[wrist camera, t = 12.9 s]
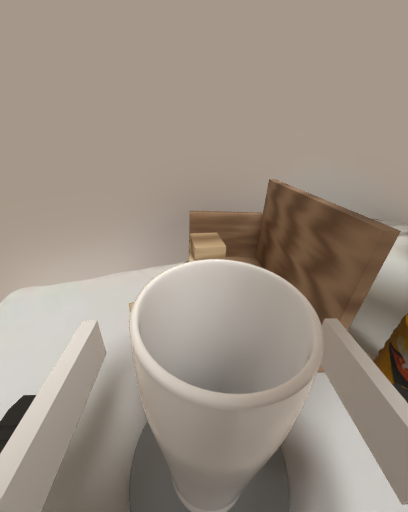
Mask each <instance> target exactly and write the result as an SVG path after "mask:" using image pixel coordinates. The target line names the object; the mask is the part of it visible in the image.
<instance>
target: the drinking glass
mask: <svg viewBox="0 0 408 512" xmlns="http://www.w3.org/2000/svg"><path fill="white" fill-rule="evenodd" d="M129 332H130V339H131V346H132V354H133V362H134V368H135V374H136V379H137V384H138V388H139V393H140V397H141V401H142V405H143V408H144V411H145V414H146V417H147V420H148V423H149V426H150V428H151V431H152V433H153V435H154V438H155V440H156V442H157V444H158V447H159V449H160V451H161V453H162V456H163V458H164V460H165V462H166V465H167V467H168V469H169V472H170V475H171V480H172V483H173V486H174V489H175V491H176V494H177V496H178V497H179V499H180V501H181V502H182V503H183V505H184V506H185V507H186V508H187V509H188V510H190V511H191V512H227V511H228V510H229V509H231V508H232V506H233V505H234V504H235V503H236V502H237V500H238V498H239V497H240V495H241V492H242V491H243V490H244V488H245V487H246V486H247V485H248V484H249V483H250V481H251V480H252V479H253V478H254V477H255V476H256V475H257V473H258V472H259V471H260V470H261V469H262V468H263V467H264V466H265V465H266V463H267V462H268V461H269V460H270V459H271V458H272V456H273V455H274V454H275V453H276V451H277V450H278V448H279V447H280V446H281V444H282V443H283V442H284V440H285V439H286V437H287V435H288V434H289V432H290V430H291V428H292V427H293V425H294V423H295V421H296V419H297V417H298V415H299V414H300V412H301V409H302V407H303V405H304V403H305V401H306V398H307V396H308V394H309V391H310V388H311V386H312V383H313V381H314V378H315V375H316V373H317V371H318V369H319V366H320V364H321V361H322V357H323V353H324V333H323V329H322V325H321V322H320V320H319V317H318V315H317V313H316V311H315V310H314V308H313V306H312V305H311V304H310V302H309V301H308V300H307V298H306V297H305V296H304V295H303V294H302V293H301V292H300V291H299V290H298V289H297V288H296V287H294V286H293V285H292V284H291V283H289V282H288V281H286V280H285V279H283V278H282V277H280V276H278V275H276V274H275V273H273V272H270V271H268V270H266V269H264V268H261V267H258V266H255V265H252V264H248V263H244V262H239V261H233V260H224V259H207V260H197V261H192V262H187V263H184V264H180V265H177V266H175V267H172V268H170V269H168V270H166V271H164V272H162V273H161V274H159V275H157V276H156V277H155V278H153V279H152V280H151V281H150V282H149V283H148V284H147V285H146V286H145V287H144V288H143V289H142V290H141V292H140V293H139V295H138V296H137V298H136V300H135V302H134V304H133V307H132V310H131V314H130V319H129Z"/></svg>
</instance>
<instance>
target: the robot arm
mask: <svg viewBox="0 0 408 512" xmlns="http://www.w3.org/2000/svg"><path fill="white" fill-rule="evenodd" d="M322 329H323V333H324V353H323V357H322V361H321V364H320V365H321V367H322V369H323V370H324V372H325V374H326V375H327V377H328V379H329V381H330V382H331V384H332V386H333V387H334V389H335V391H336V393H337V394H338V396H339V398H340V399H341V401H342V403H343V405H344V406H345V408H346V410H347V411H348V413H349V415H350V417H351V418H352V420H353V422H354V423H355V425H356V427H357V428H358V430H359V432H360V434H361V435H362V437H363V439H364V440H365V442H366V444H367V446H368V447H369V449H370V451H371V452H372V454H373V456H374V458H375V459H376V461H377V463H378V464H379V466H380V468H381V470H382V471H383V473H384V475H385V476H386V478H387V480H388V482H389V483H390V485H391V487H392V488H393V490H394V492H395V494H396V495H397V497H398V499H399V500H400V502H401V504H402V505H405V504H408V391H407V390H406V389H404V388H403V387H402V386H401V385H400V384H398V383H391V382H390V381H389V380H388V379H387V378H386V377H385V375H384V374H383V373H382V372H381V371H380V369H379V368H378V367H377V366H376V365H375V363H374V362H373V361H372V360H371V359H370V357H369V356H368V355H367V354H366V353H365V351H364V350H363V349H362V348H361V347H360V345H359V344H358V343H357V342H356V341H355V339H354V338H353V337H352V336H351V335H350V333H349V332H348V331H347V330H346V329H345V327H344V326H343V325H342V324H341V323H340V321H339V320H338V319H337V318H331V319H324V321H323V324H322ZM105 355H106V350H105V346H104V343H103V339H102V336H101V332H100V329H99V325H98V322H97V321H82V323H81V324H80V326H79V328H78V329H77V331H76V332H75V334H74V336H73V337H72V339H71V340H70V342H69V344H68V345H67V347H66V349H65V350H64V352H63V353H62V355H61V357H60V358H59V360H58V361H57V363H56V365H55V366H54V368H53V369H52V371H51V373H50V374H49V376H48V378H47V379H46V381H45V382H44V384H43V386H42V387H41V389H40V390H39V392H38V394H37V395H24V396H22V397H21V398H20V399H19V400H18V401H17V402H16V403H15V404H14V405H13V406H12V407H11V408H10V409H9V410H8V411H7V413H6V414H5V416H4V417H3V419H2V420H1V421H0V512H41V511H42V509H43V506H44V504H45V502H46V499H47V497H48V494H49V492H50V489H51V487H52V484H53V482H54V480H55V477H56V475H57V472H58V470H59V467H60V465H61V462H62V460H63V458H64V455H65V453H66V450H67V448H68V445H69V443H70V441H71V438H72V436H73V433H74V431H75V428H76V426H77V423H78V421H79V419H80V416H81V414H82V411H83V409H84V406H85V404H86V402H87V399H88V397H89V394H90V392H91V389H92V387H93V384H94V382H95V380H96V377H97V375H98V372H99V370H100V367H101V365H102V363H103V360H104V358H105Z"/></svg>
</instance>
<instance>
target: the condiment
mask: <svg viewBox="0 0 408 512" xmlns="http://www.w3.org/2000/svg"><path fill="white" fill-rule="evenodd" d="M366 354H367V355H368V356H369V357H370V359H371V360H372V361H373V362H374V363H375V365H376V366H377V367H378V368H379V369H380V371H381V372H382V373H383V374H384V375H385V377H386V378H387V379H388V380H389V381H390V382H391V383H398V384H400V385H401V386H402V387H403V388H404V389H406V390H407V391H408V314H407V315H405V316H404V317H403V319H402V320H401V323H400V324H399V325H398V327H397V328H396V329H395V330H394V331H393V334H392V335H391V337H390V338H389V339H388V340H387V341H386V343H385V346H384V348H383V349H380V350H379V354H378V356H377V357H375V356H373V355H371V354H368V353H366Z"/></svg>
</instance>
